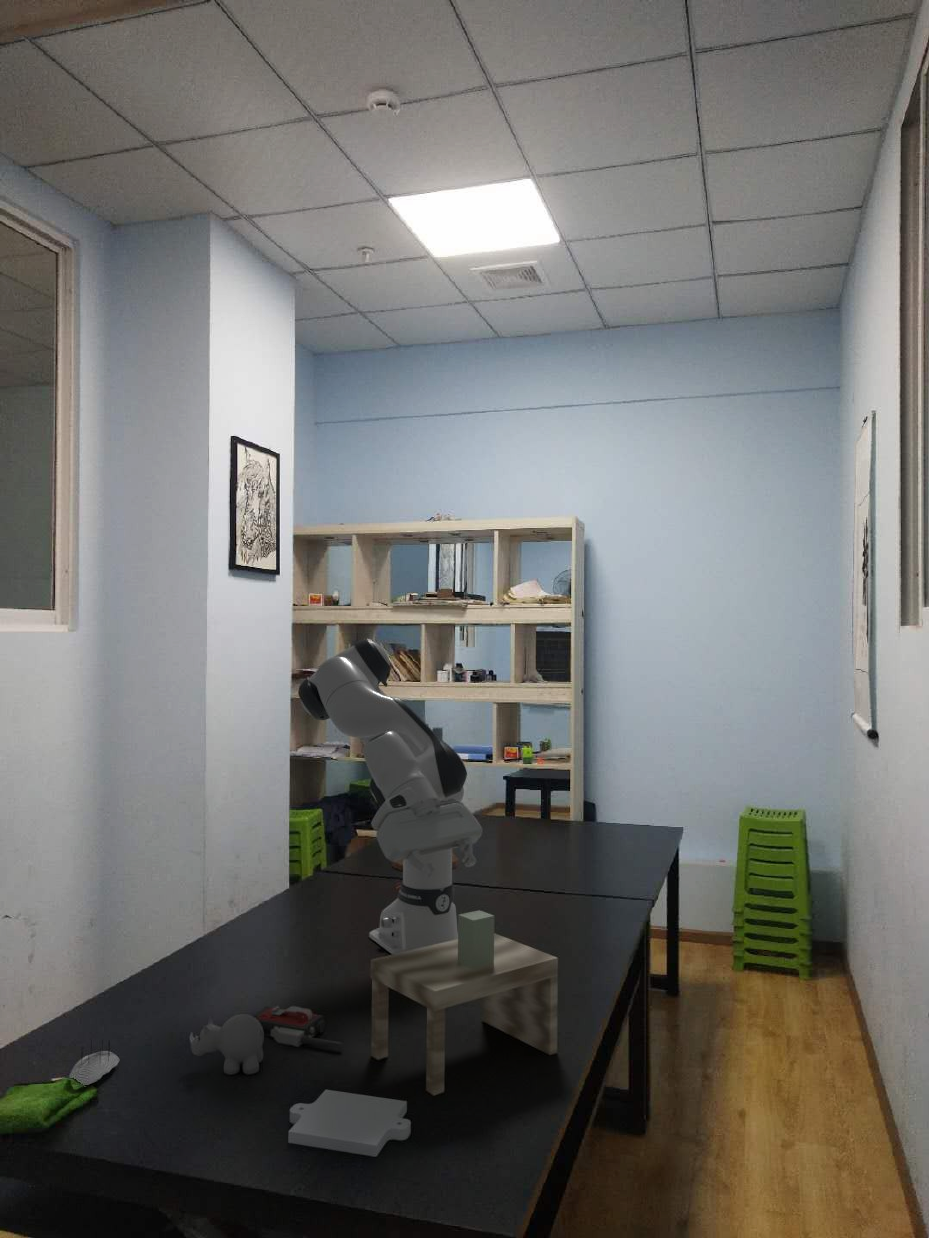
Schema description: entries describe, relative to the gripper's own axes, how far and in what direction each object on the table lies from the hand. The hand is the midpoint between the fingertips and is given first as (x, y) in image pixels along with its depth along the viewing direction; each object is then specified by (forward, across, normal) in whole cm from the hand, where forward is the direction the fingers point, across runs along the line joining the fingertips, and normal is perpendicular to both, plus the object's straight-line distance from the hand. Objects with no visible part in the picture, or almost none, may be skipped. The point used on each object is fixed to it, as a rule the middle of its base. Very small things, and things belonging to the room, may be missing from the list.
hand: (451, 869), depth 170 cm
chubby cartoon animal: (+10, +36, -31) cm, 48 cm away
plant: (-51, -75, -96) cm, 132 cm away
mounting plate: (+30, +31, -11) cm, 45 cm away
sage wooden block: (+16, +2, -4) cm, 16 cm away
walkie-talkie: (+8, +20, -34) cm, 40 cm away
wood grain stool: (+25, +3, -17) cm, 30 cm away
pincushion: (+2, +53, -38) cm, 65 cm away
